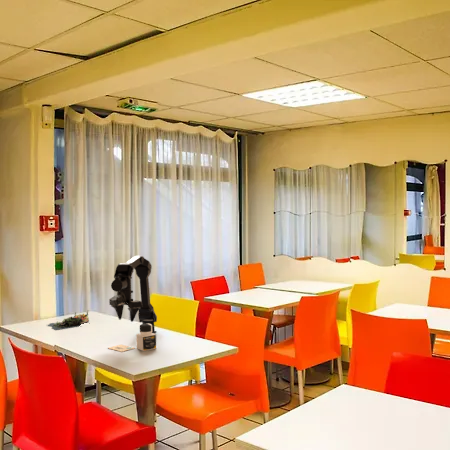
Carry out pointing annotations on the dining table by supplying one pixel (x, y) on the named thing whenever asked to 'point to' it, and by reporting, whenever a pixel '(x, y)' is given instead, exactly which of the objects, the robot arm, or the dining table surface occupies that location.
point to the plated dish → (70, 322)
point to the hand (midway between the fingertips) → (125, 320)
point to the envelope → (121, 348)
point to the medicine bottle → (146, 338)
